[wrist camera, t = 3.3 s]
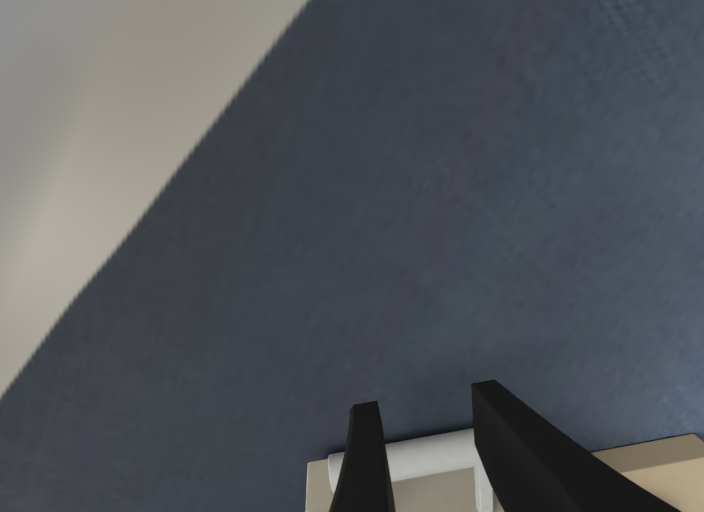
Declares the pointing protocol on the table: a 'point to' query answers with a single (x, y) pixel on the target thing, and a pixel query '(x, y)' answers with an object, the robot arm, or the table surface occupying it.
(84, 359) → the table surface
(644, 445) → the control block
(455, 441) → the cream pull-out drawer
